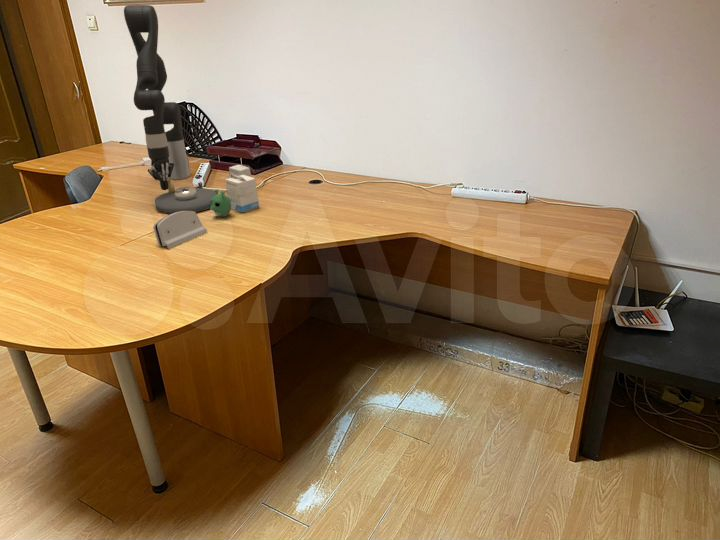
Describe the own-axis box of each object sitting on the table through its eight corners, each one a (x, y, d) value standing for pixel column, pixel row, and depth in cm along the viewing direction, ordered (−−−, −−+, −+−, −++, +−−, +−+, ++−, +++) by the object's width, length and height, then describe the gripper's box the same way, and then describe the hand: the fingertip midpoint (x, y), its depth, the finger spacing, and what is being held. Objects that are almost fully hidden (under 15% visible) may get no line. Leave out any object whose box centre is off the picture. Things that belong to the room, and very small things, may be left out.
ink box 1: (231, 194, 210) (228, 166, 205) (241, 192, 213) (238, 164, 208) (243, 199, 205) (240, 170, 199) (253, 196, 208) (250, 167, 203)
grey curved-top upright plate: (168, 249, 159) (155, 219, 157) (160, 251, 162) (147, 222, 160) (208, 232, 172) (197, 204, 169) (200, 234, 175) (189, 207, 172)
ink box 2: (259, 207, 195) (256, 173, 189) (241, 213, 189) (237, 178, 183) (246, 203, 200) (242, 169, 194) (228, 208, 194) (223, 174, 189)
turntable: (189, 190, 213) (186, 173, 210) (232, 199, 202) (229, 181, 199) (142, 207, 195) (138, 188, 191) (186, 217, 184) (182, 198, 181)
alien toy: (207, 217, 186) (203, 190, 181) (225, 211, 191) (222, 186, 187) (218, 221, 182) (214, 194, 177) (236, 215, 187) (233, 189, 182)
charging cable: (98, 172, 248) (96, 165, 247) (165, 160, 263) (164, 154, 261) (99, 174, 244) (97, 168, 243) (167, 162, 259) (166, 156, 257)
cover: (187, 193, 202) (186, 185, 201) (201, 196, 198) (200, 188, 197) (171, 198, 196) (169, 191, 195) (185, 202, 192) (183, 194, 191)
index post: (201, 192, 213) (199, 182, 211) (204, 193, 212) (202, 182, 210) (198, 193, 211) (197, 183, 209) (201, 194, 211) (200, 183, 209)
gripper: (160, 141, 199) (168, 184, 207) (137, 148, 188) (145, 193, 195) (176, 142, 197) (183, 186, 204) (153, 149, 186) (161, 194, 193)
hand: (165, 189), depth 200 cm, fingers closed
